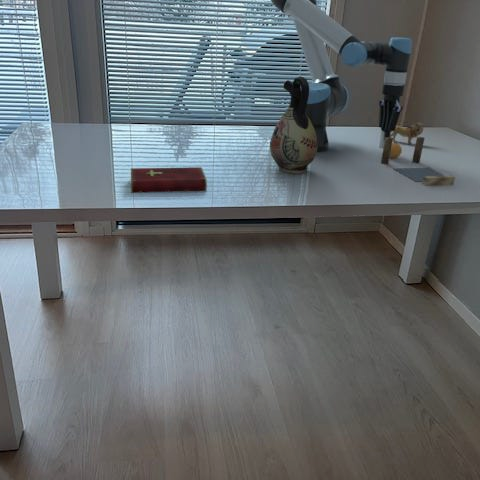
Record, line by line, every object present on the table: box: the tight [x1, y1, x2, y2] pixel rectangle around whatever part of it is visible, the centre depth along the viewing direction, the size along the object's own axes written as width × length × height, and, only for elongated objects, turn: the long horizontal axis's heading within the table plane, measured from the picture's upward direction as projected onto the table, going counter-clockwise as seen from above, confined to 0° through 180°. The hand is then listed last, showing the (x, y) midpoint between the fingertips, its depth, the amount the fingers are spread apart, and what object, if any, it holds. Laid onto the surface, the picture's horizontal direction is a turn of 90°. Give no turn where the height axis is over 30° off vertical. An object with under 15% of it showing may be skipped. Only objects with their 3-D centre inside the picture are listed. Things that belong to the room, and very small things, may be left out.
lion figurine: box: [390, 122, 425, 146], centre depth 202 cm, size 15×5×9 cm, turn 69°
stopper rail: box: [421, 174, 456, 187], centre depth 153 cm, size 10×2×2 cm, turn 104°
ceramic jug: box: [269, 76, 318, 174], centre depth 154 cm, size 17×15×30 cm
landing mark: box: [392, 166, 445, 183], centre depth 163 cm, size 14×14×1 cm
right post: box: [411, 136, 425, 164], centre depth 174 cm, size 3×3×9 cm
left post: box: [380, 137, 393, 165], centre depth 171 cm, size 3×3×9 cm
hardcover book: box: [130, 166, 208, 194], centre depth 141 cm, size 12×21×4 cm, turn 101°
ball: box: [389, 142, 403, 159], centre depth 179 cm, size 6×6×6 cm
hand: (383, 148), depth 185 cm, fingers closed
